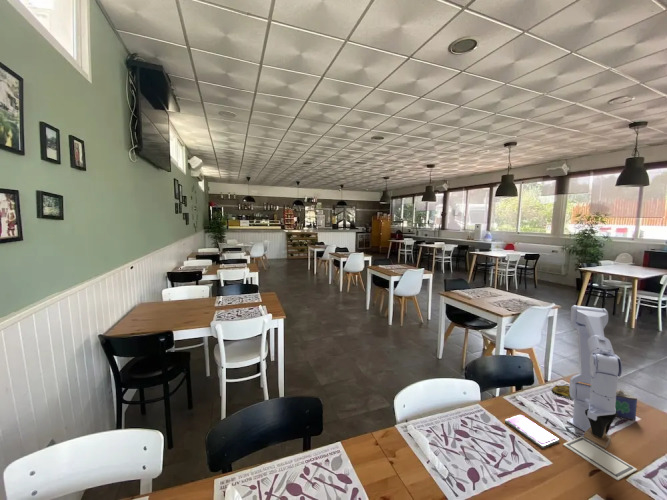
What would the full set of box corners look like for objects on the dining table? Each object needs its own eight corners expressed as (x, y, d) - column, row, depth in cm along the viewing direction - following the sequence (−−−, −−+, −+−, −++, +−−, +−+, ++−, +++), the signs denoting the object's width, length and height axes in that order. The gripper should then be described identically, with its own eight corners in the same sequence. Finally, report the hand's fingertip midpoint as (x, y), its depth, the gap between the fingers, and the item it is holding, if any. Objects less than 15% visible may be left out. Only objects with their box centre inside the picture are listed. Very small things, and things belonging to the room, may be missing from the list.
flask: (633, 418, 106) (636, 391, 105) (637, 422, 103) (639, 395, 103) (601, 410, 110) (603, 384, 110) (604, 414, 108) (606, 388, 107)
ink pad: (520, 416, 106) (520, 413, 106) (559, 442, 94) (559, 438, 94) (504, 422, 103) (505, 418, 103) (542, 448, 91) (542, 444, 91)
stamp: (590, 432, 91) (591, 414, 90) (610, 442, 87) (612, 423, 86) (584, 437, 88) (585, 419, 88) (605, 448, 84) (607, 429, 84)
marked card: (581, 437, 96) (581, 436, 96) (636, 470, 83) (637, 468, 83) (563, 444, 92) (563, 443, 92) (617, 480, 79) (617, 478, 79)
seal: (562, 402, 117) (595, 400, 118) (564, 393, 116) (597, 391, 118) (544, 388, 126) (574, 386, 128) (546, 378, 126) (576, 377, 127)
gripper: (596, 380, 93) (593, 418, 94) (576, 392, 86) (573, 433, 87) (625, 391, 87) (622, 432, 88) (606, 404, 80) (602, 448, 81)
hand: (599, 433), depth 87 cm, fingers closed on stamp, 3 cm apart
